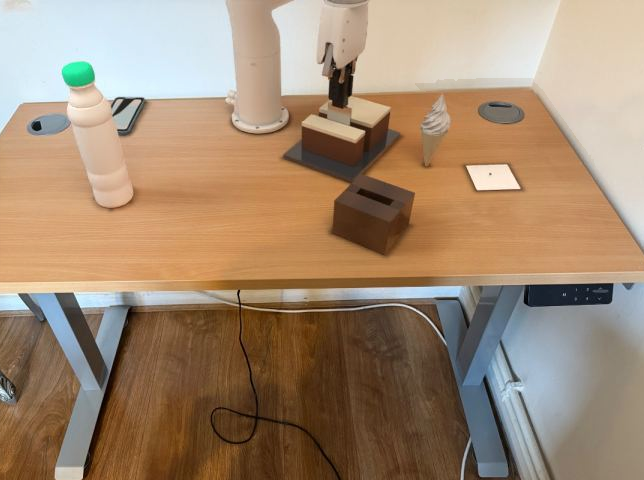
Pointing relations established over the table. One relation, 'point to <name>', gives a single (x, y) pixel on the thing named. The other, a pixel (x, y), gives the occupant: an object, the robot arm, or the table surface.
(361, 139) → the cake slice
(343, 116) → the knife
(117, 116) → the smartphone
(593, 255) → the table surface
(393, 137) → the cake board
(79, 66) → the water bottle
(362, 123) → the cake
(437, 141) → the ice cream cone
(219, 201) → the table surface
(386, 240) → the knife block
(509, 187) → the coaster
